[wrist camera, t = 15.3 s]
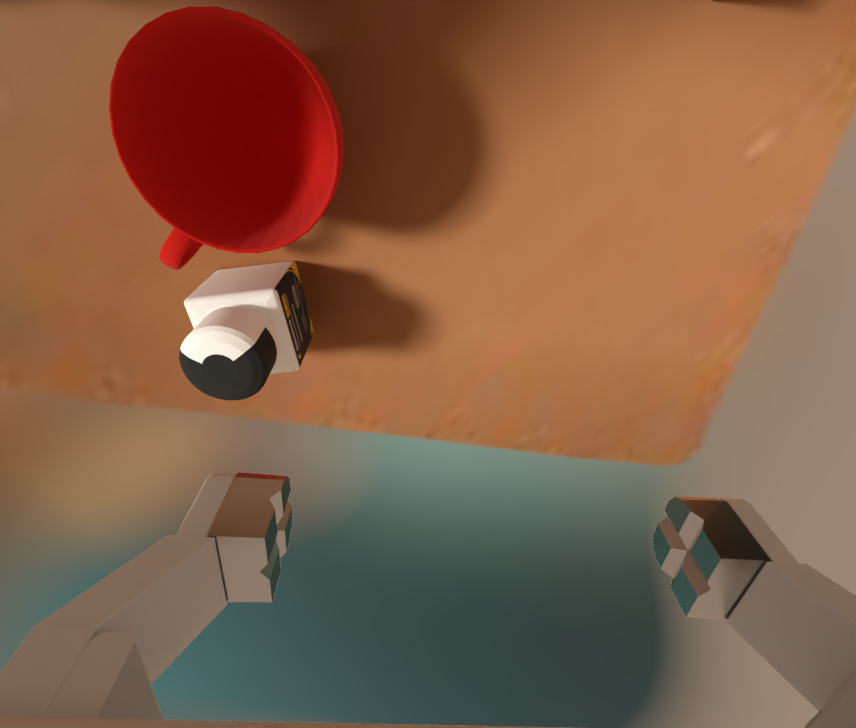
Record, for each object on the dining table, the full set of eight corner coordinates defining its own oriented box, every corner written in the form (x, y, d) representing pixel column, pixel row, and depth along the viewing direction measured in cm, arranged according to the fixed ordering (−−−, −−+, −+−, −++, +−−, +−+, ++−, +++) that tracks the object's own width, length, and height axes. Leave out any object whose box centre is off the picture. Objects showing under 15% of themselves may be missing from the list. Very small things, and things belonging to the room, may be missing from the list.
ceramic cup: (133, 186, 38) (49, 215, 29) (236, -23, 32) (168, -64, 23) (276, 283, 42) (240, 333, 34) (392, 117, 36) (384, 126, 27)
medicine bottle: (315, 333, 45) (285, 406, 34) (241, 341, 45) (188, 417, 35) (296, 259, 41) (255, 317, 31) (215, 269, 42) (148, 329, 31)
